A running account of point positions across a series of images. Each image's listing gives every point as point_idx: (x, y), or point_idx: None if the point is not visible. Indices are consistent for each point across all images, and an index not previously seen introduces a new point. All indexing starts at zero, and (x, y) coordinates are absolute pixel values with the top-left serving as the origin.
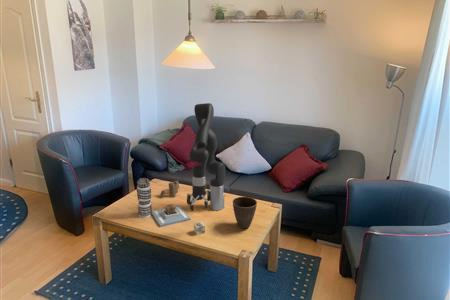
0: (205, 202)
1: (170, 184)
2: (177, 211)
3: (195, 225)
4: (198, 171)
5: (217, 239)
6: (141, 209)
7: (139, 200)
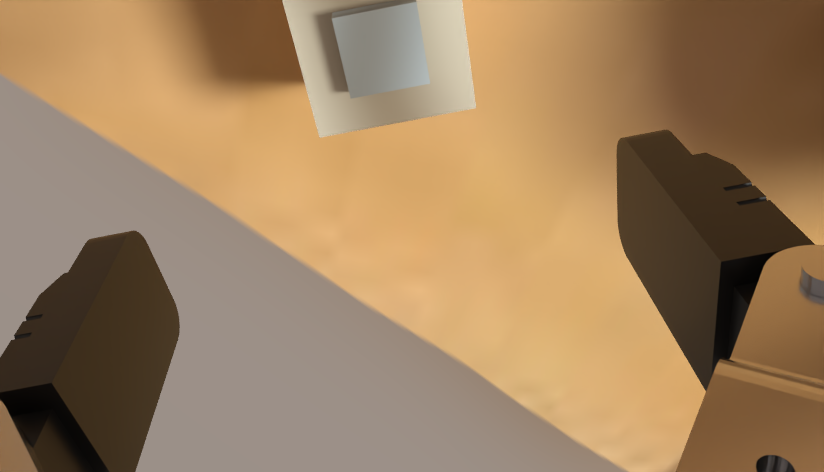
0: (706, 356)
1: None
2: None
3: (299, 56)
4: None
5: (565, 247)
6: None
7: None
